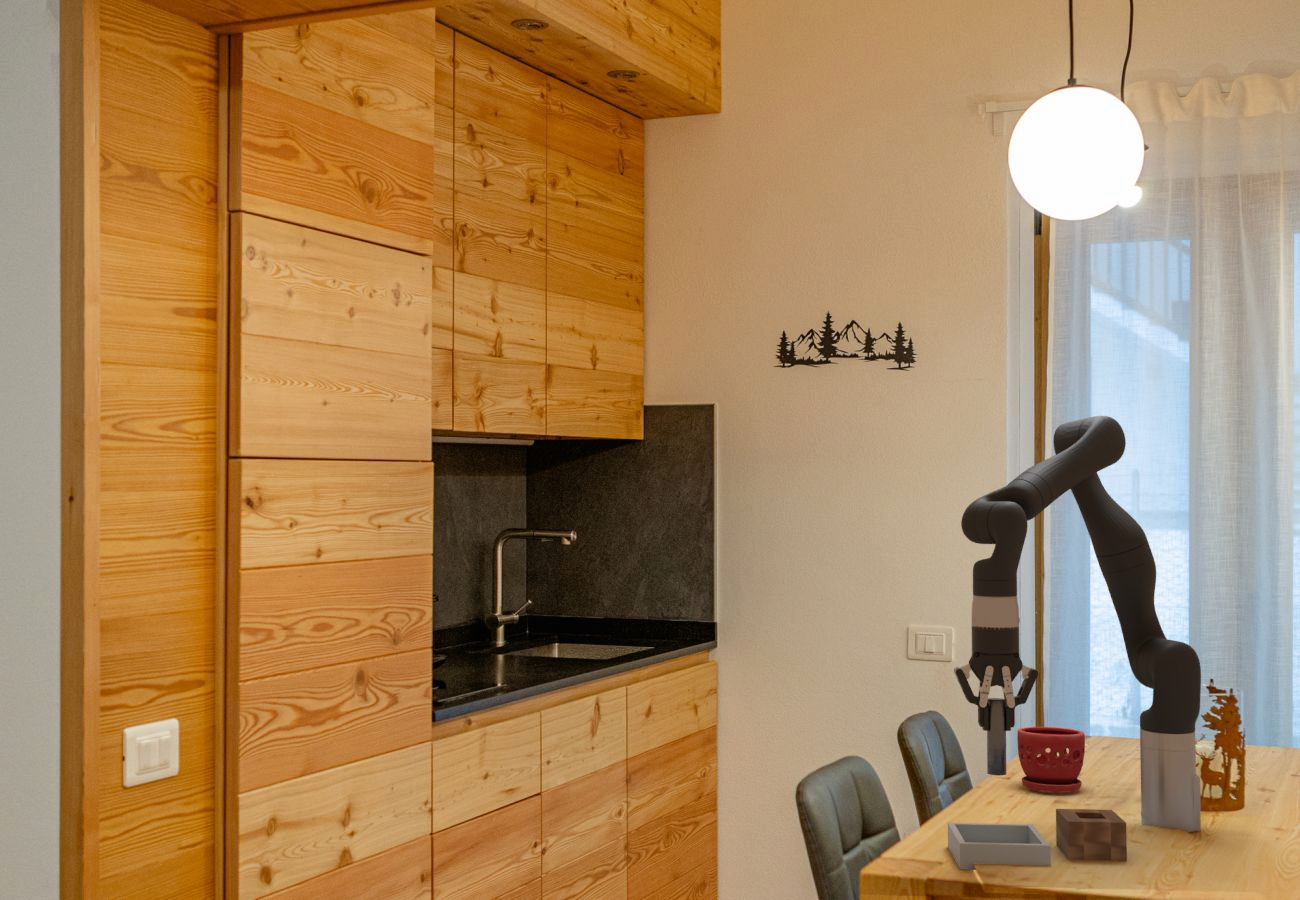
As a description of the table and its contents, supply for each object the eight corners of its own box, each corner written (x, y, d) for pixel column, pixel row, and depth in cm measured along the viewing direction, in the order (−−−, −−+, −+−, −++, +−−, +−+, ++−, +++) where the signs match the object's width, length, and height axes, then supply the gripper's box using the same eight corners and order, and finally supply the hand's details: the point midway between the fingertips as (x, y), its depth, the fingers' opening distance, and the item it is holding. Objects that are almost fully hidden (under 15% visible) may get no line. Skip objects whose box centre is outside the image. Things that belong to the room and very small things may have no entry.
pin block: (1112, 852, 219) (1111, 809, 219) (1126, 867, 210) (1126, 822, 210) (1056, 851, 220) (1055, 808, 220) (1068, 866, 211) (1068, 821, 211)
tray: (1033, 848, 222) (1032, 824, 222) (1050, 871, 208) (1050, 845, 208) (947, 846, 223) (947, 822, 223) (960, 869, 209) (959, 843, 209)
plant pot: (1098, 794, 264) (1097, 733, 264) (1039, 798, 260) (1038, 736, 261) (1062, 781, 276) (1062, 723, 277) (1005, 784, 273) (1005, 725, 274)
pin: (1004, 771, 217) (1003, 698, 218) (1007, 775, 214) (1007, 700, 215) (986, 771, 218) (985, 697, 218) (989, 775, 215) (988, 700, 215)
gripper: (1034, 621, 220) (1035, 727, 219) (948, 621, 221) (949, 725, 221) (1043, 626, 213) (1045, 734, 212) (954, 625, 214) (955, 733, 213)
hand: (996, 729), depth 216 cm, fingers closed on pin, 3 cm apart
